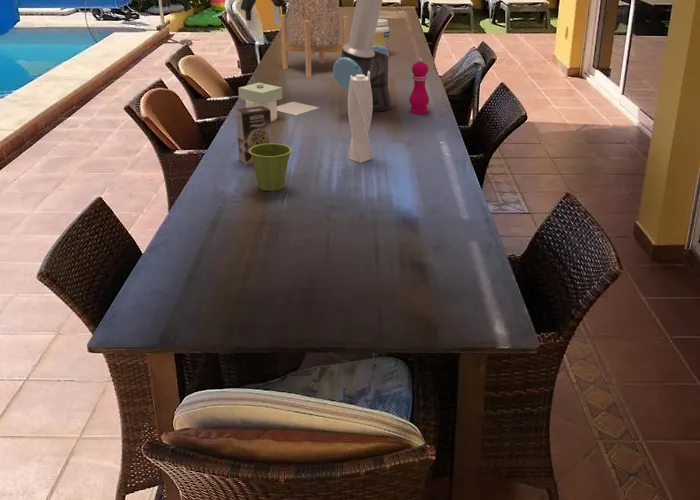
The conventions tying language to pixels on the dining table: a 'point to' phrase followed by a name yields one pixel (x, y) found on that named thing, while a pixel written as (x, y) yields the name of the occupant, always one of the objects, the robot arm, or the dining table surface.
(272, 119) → the bowl
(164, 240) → the dining table surface
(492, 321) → the dining table surface
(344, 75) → the robot arm
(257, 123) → the coffee box
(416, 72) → the pepper mill
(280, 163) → the plant pot
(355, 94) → the skyscraper
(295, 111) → the mat
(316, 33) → the planter
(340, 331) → the dining table surface
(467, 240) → the dining table surface
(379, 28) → the supplement tub
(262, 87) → the lid
